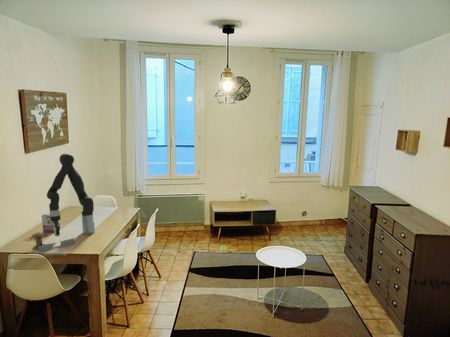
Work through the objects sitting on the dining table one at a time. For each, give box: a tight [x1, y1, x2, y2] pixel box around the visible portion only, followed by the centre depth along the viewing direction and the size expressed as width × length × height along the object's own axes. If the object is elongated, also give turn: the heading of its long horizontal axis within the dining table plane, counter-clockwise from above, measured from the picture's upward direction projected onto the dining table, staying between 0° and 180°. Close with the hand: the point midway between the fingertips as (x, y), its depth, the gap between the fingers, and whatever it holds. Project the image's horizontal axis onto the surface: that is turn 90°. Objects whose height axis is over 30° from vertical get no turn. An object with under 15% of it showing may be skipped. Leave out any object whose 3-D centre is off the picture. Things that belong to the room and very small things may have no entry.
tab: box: [53, 227, 61, 237], centre depth 271 cm, size 4×4×8 cm
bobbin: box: [31, 231, 46, 251], centre depth 259 cm, size 9×9×11 cm
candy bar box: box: [41, 213, 54, 233], centre depth 292 cm, size 11×5×16 cm, turn 99°
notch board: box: [37, 237, 75, 253], centre depth 260 cm, size 26×2×4 cm, turn 130°
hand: (57, 233), depth 271 cm, fingers closed on tab, 4 cm apart
